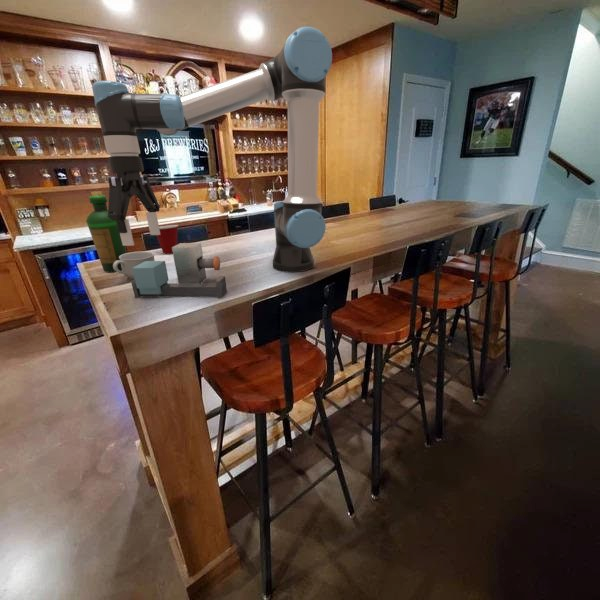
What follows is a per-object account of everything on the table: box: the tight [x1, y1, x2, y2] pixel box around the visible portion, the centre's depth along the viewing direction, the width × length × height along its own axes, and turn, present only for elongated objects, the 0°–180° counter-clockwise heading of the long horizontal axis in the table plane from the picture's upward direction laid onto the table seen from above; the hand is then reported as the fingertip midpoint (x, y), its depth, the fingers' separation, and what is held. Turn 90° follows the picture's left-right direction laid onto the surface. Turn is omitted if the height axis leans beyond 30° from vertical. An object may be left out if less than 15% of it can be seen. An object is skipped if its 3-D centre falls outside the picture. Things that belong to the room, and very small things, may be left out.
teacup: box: [113, 250, 156, 280], centre depth 109 cm, size 14×11×8 cm
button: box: [199, 255, 221, 271], centre depth 102 cm, size 6×4×4 cm
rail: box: [130, 275, 228, 299], centre depth 93 cm, size 26×5×5 cm, turn 85°
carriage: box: [132, 260, 170, 294], centre depth 93 cm, size 6×7×8 cm
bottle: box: [85, 190, 127, 273], centre depth 115 cm, size 11×11×28 cm
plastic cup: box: [155, 224, 179, 255], centre depth 141 cm, size 11×11×12 cm
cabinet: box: [172, 242, 207, 283], centre depth 103 cm, size 7×6×12 cm
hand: (143, 239), depth 88 cm, fingers open, 13 cm apart
